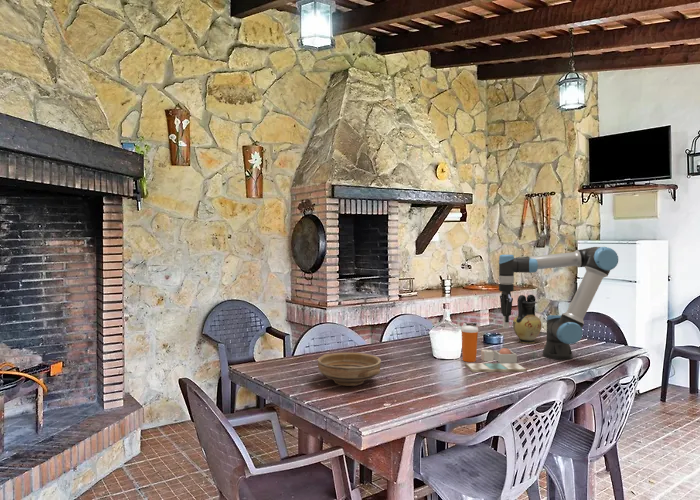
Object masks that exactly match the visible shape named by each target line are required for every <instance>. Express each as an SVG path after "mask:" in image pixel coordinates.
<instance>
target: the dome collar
mask: <svg viewBox="0 0 700 500" xmlns="http://www.w3.org/2000/svg"><path fill="white" fill-rule="evenodd" d="M499 351H500V350H493V360H494V361H496V362H497V361H498V362H497V363H517V364H518V354H517V353H515V352H513V351H512V350H510V351H511V354H500V353H499Z"/></svg>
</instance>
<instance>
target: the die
mask: <svg viewBox="0 0 700 500" xmlns="http://www.w3.org/2000/svg"><path fill="white" fill-rule="evenodd" d="M480 360H482V361H484V362H494V350H492V349H481V351H480Z"/></svg>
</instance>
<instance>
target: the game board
mask: <svg viewBox="0 0 700 500" xmlns="http://www.w3.org/2000/svg"><path fill="white" fill-rule="evenodd" d="M464 366H465V367H466V368H467V369H468V370H469V371H470V370H471V371H470V372H472V373H524V372H525V373H526V372H528V371H527V368H526V367H524V366H522V365H521V364H519V363H518V362H517V363H499V362H497V363H494V362H493V363H491V362H490V363H489V362H488V363H487V362H486V363H479V362H478V363H477V362H476V363H475V362H465V363H464Z"/></svg>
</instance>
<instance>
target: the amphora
mask: <svg viewBox="0 0 700 500" xmlns="http://www.w3.org/2000/svg"><path fill="white" fill-rule="evenodd" d="M537 302H538V301H536V296H535V295H534V294H528V295H527V296H526V295H523V294H520V295H519V296H518V297H517V310H518V311H517V312H518V313H517V314H518V315H516V316H515V317H514V319H513V320H512V328H513V332H514V333H515V335H516V337H518V339H519V343H521V344H535V343H536V341H535V340H536V339H537V337H539V335H540V333H541V330H542V322H541V319H540V318H539V317H538V316H537V315H536V304H537Z"/></svg>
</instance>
